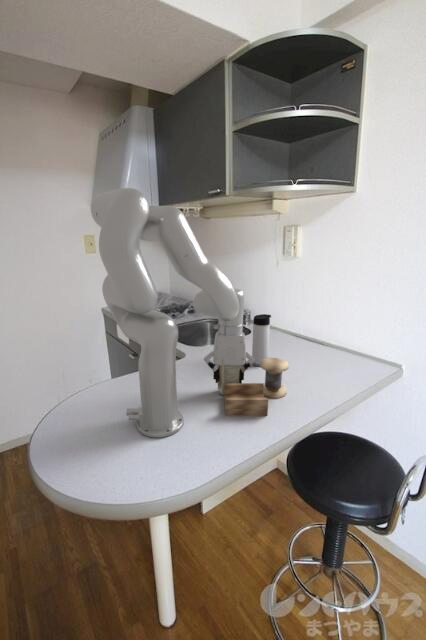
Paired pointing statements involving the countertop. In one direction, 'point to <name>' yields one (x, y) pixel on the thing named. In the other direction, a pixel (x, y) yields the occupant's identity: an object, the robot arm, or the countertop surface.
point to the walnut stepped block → (245, 399)
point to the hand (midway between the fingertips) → (228, 381)
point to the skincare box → (227, 375)
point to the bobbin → (274, 377)
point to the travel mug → (260, 338)
